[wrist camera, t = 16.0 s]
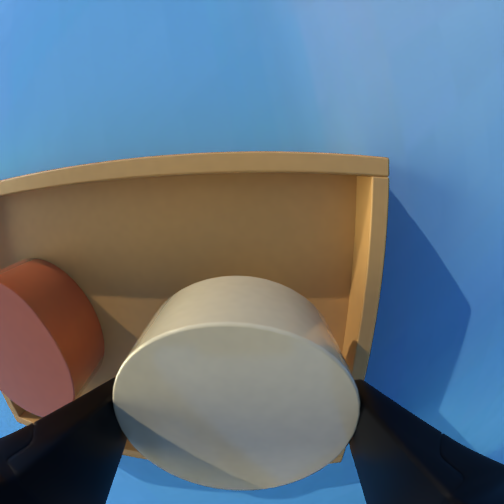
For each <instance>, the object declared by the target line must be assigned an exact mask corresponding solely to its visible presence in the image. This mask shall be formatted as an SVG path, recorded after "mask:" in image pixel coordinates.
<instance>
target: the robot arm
mask: <svg viewBox="0 0 504 504" xmlns="http://www.w3.org/2000/svg"><path fill="white" fill-rule="evenodd" d="M115 378H116V377H114V378H112V379H110V380H109V381H107V382H105V383H103V384H102V385H100V386H98V387H96V388H95V389H93V390H91V391H89V392H88V393H86V394H84V395H82V396H81V397H79V398H77V399H75V400H74V401H72V402H70V403H68V404H66V405H65V406H63V407H61V408H59V409H57V410H55V411H54V412H52V413H50V414H48V415H46V416H44V417H43V418H41V419H39V420H37V421H35V422H34V423H31V424H29V425H28V426H26V427H24V428H22V429H20V430H18V431H16V432H14V433H12V434H9V435H7V436H5V437H2V438H0V504H105V503H106V500H107V497H108V494H109V491H110V488H111V485H112V482H113V479H114V476H115V474H116V471H117V468H118V465H119V462H120V459H121V456H122V454H123V451H124V448H125V445H126V441H127V437H126V436H125V434H124V433H123V431H122V430H121V427H120V425H119V423H118V421H117V418H116V415H115V412H114V407H113V398H112V396H113V385H114V381H115ZM354 381H355V384H356V386H357V388H358V392H359V397H360V416H359V420H358V424H357V427H356V430H355V433H354V435H353V437H352V439H351V440H350V442H349V444H350V449H351V453H352V456H353V459H354V463H355V466H356V469H357V473H358V476H359V479H360V483H361V486H362V489H363V493H364V496H365V500H366V503H367V504H504V465H503V464H501V463H499V462H497V461H494V460H492V459H490V458H488V457H485V456H483V455H481V454H479V453H477V452H475V451H473V450H471V449H469V448H467V447H465V446H463V445H461V444H460V443H458V442H456V441H455V440H453V439H451V438H450V437H448V436H447V435H445V434H442V433H441V432H440V431H438V430H437V429H435V428H434V427H432V426H431V425H429V424H428V423H426V422H425V421H423V420H421V419H420V418H418V417H417V416H415V415H414V414H412V413H411V412H409V411H408V410H406V409H405V408H403V407H402V406H400V405H399V404H397V403H396V402H394V401H393V400H391V399H390V398H388V397H387V396H385V395H384V394H382V393H381V392H379V391H378V390H377V389H375V388H374V387H372V386H371V385H369V384H368V383H366V382H365V381H363V380H362V379H357V380H354Z"/></svg>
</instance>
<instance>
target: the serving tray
mask: <svg viewBox="0 0 504 504" xmlns="http://www.w3.org/2000/svg"><path fill="white" fill-rule="evenodd" d="M388 176H389V158H387V157H376V156H365V155H352V154H336V153H316V152H278V151H249V152H211V153H191V154H175V155H162V156H150V157H139V158H130V159H121V160H112V161H105V162H97V163H90V164H83V165H77V166H70V167H64V168H58V169H53V170H47V171H42V172H37V173H32V174H27V175H22V176H18V177H13V178H9V179H4V180H0V270H1V269H3V268H5V267H7V266H9V265H11V264H13V263H16V262H18V261H20V260H23V259H27V258H37V259H41V260H45V261H48V262H50V263H52V264H54V265H55V266H57V267H59V268H60V269H62V270H63V271H64V272H65V273H67V274H68V275H69V276H70V277H71V278H72V279H73V280H74V281H75V282H76V283H77V284H78V286H79V287H80V288H81V289H82V291H83V292H84V293H85V295H86V296H87V298H88V299H89V301H90V303H91V304H92V306H93V308H94V310H95V312H96V314H97V317H98V319H99V322H100V325H101V328H102V332H103V337H104V358H103V362H102V364H101V367H100V369H99V370H98V372H97V373H96V374H95V376H94V377H93V379H92V380H91V381H90V383H89V384H88V386H87V387H86V388H85V390H84V391H83V393H82V394H81V396H82V395H84V394H86V393H88V392H89V391H91V390H93V389H95V388H96V387H98V386H100V385H102V384H103V383H105V382H107V381H109V380H110V379H112V378H114V377H116V374H117V372H118V370H119V369H120V367H121V365H122V363H123V361H124V360H125V358H126V357H127V355H128V354H129V352H130V351H131V349H132V348H133V346H134V345H135V343H136V341H137V340H138V338H139V337H140V335H141V334H142V332H143V331H144V329H145V328H146V326H147V325H148V323H149V322H150V320H151V319H152V317H153V316H154V314H155V313H156V312H157V311H158V309H159V308H160V307H161V306H162V304H163V303H165V302H166V301H167V300H168V299H169V298H170V297H171V296H173V295H174V294H176V293H177V292H179V291H180V290H182V289H184V288H186V287H188V286H190V285H192V284H194V283H197V282H200V281H203V280H206V279H211V278H216V277H221V276H251V277H257V278H262V279H267V280H270V281H273V282H276V283H280V284H282V285H284V286H286V287H288V288H291V289H293V290H294V291H296V292H297V293H299V294H301V295H302V296H304V297H305V298H306V299H307V300H309V301H310V302H311V303H312V304H313V305H314V306H315V307H316V308H317V309H318V310H319V311H320V312H321V314H322V315H323V316H324V318H325V320H326V321H327V323H328V324H329V326H330V329H331V331H332V333H333V335H334V337H335V339H336V341H337V344H338V346H339V348H340V350H341V352H342V354H343V357H344V359H345V361H346V363H347V365H348V368H349V370H350V372H351V374H352V377H353V379H354V380H357V379H362V380H363V381H364V379H365V375H366V370H367V365H368V361H369V356H370V351H371V346H372V341H373V335H374V330H375V324H376V318H377V312H378V305H379V298H380V291H381V283H382V275H383V266H384V257H385V246H386V234H387V219H388V199H389V178H388ZM1 392H2V391H1ZM2 394H3V396H4V398H5V400H6V402H7V404H8V406H9V408H10V409H11V411H12V413H13V414H14V417H15V419H16V420H17V422H19V423H22V424H24V425H27V426H28V425H29V424H31V423H34V422H35V421H37V420H39V419H41V418H43V417H40V416H37V415H35V414H32V413H30V412H28V411H26V410H24V409H23V408H21V407H20V406H18V405H17V404H16V403H14V402H13V401H12V400H10V399H9V398H8V397H7V396H6V395H5V394H4V393H3V392H2ZM81 396H80V397H81ZM345 448H346V447H345ZM344 451H345V449H344V450H343V451H342V452H341V453H340V454H339V455H338V456H337V457H336V458H335V459H334V460H333V461H332V462H330V463H338V462H341V460H342V457H343V454H344ZM122 455H126V456H131V457H136V458H142V459H147V458H145V457H144V456H143V455H142V454H141V453H140V452H139V451H138V450H137V449H136V448H135V447H134V446H133V445H132V444H131V443H130V441H129V440H128V439H127V441H126V445H125V448H124V451H123V454H122ZM330 463H329V464H330Z"/></svg>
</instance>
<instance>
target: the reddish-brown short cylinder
mask: <svg viewBox="0 0 504 504" xmlns="http://www.w3.org/2000/svg"><path fill="white" fill-rule="evenodd" d="M103 358H104V337H103V332H102V328H101V325H100V322H99V319H98V317H97V314H96V312H95V310H94V308H93V306H92V304H91V303H90V301H89V299H88V298H87V296H86V295H85V293H84V292H83V291H82V289H81V288H80V287H79V286H78V284H77V283H76V282H75V281H74V280H73V279H72V278H71V277H70V276H69V275H68V274H67V273H65V272H64V271H63V270H62V269H60V268H59V267H57V266H55V265H54V264H52V263H50V262H48V261H45V260H41V259H37V258H27V259H23V260H20V261H18V262H16V263H13V264H11V265H9V266H7V267H5V268H3V269H1V270H0V390H1V391H2V392H3V393H4V394H5V395H6V396H7V397H8V398H9V399H10V400H12V401H13V402H14V403H16V404H17V405H18V406H20V407H21V408H23V409H24V410H26V411H28V412H30V413H32V414H35V415H37V416H40V417H44V416H46V415H48V414H50V413H52V412H54V411H55V410H57V409H59V408H61V407H63V406H65V405H66V404H68V403H70V402H72V401H74V400H75V399H77V398H79V397H80V396H81V394H82V393H83V391H84V390H85V388H86V387H87V386H88V384H89V383H90V381H91V380H92V379H93V377H94V376H95V374H96V373H97V372H98V370H99V369H100V367H101V364H102V362H103Z"/></svg>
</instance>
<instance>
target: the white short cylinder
mask: <svg viewBox="0 0 504 504" xmlns="http://www.w3.org/2000/svg"><path fill="white" fill-rule="evenodd" d="M112 398H113V407H114V412H115V415H116V418H117V421H118V423H119V425H120V427H121V430H122V431H123V433H124V434H125V436H126V437H127V439H128V440H129V441H130V443H131V444H132V445H133V446H134V447H135V448H136V449H137V450H138V451H139V452H140V453H141V454H142V455H143V456H144V457H145V458H147V459H148V460H149V461H151V462H152V463H153V464H155V465H156V466H158V467H159V468H161V469H163V470H164V471H166V472H168V473H170V474H172V475H174V476H176V477H179V478H181V479H184V480H186V481H189V482H192V483H195V484H199V485H202V486H207V487H211V488H218V489H225V490H260V489H268V488H274V487H279V486H282V485H286V484H290V483H293V482H295V481H298V480H301V479H303V478H305V477H308V476H310V475H312V474H314V473H315V472H317V471H319V470H320V469H322V468H324V467H325V466H326V465H328V464H329V463H330V462H332V461H333V460H334V459H335V458H336V457H337V456H338V455H339V454H340V453H341V452H342V451H343V450H344V449H345V447H346V446H347V445H348V443H349V442H350V440H351V439H352V437H353V435H354V433H355V430H356V427H357V424H358V420H359V416H360V397H359V392H358V388H357V386H356V384H355V381H354V379H353V377H352V374H351V372H350V370H349V368H348V365H347V363H346V361H345V359H344V357H343V354H342V352H341V350H340V348H339V346H338V344H337V341H336V339H335V337H334V335H333V333H332V331H331V329H330V326H329V324H328V323H327V321H326V320H325V318H324V316H323V315H322V314H321V312H320V311H319V310H318V309H317V308H316V307H315V306H314V305H313V304H312V303H311V302H310V301H309V300H307V299H306V298H305V297H304V296H302V295H301V294H299V293H297V292H296V291H294V290H293V289H291V288H288V287H286V286H284V285H282V284H280V283H276V282H273V281H270V280H267V279H262V278H257V277H251V276H221V277H216V278H211V279H206V280H203V281H200V282H197V283H194V284H192V285H190V286H188V287H186V288H184V289H182V290H180V291H179V292H177V293H176V294H174V295H173V296H171V297H170V298H169V299H168V300H167V301H166V302H165V303H163V304H162V306H161V307H160V308H159V309H158V311H157V312H156V313H155V314H154V316H153V317H152V319H151V320H150V322H149V323H148V325H147V326H146V328H145V329H144V331H143V332H142V334H141V335H140V337H139V338H138V340H137V341H136V343H135V345H134V346H133V348H132V349H131V351H130V352H129V354H128V355H127V357H126V358H125V360H124V361H123V363H122V365H121V367H120V369H119V370H118V372H117V374H116V378H115V381H114V385H113V396H112Z"/></svg>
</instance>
